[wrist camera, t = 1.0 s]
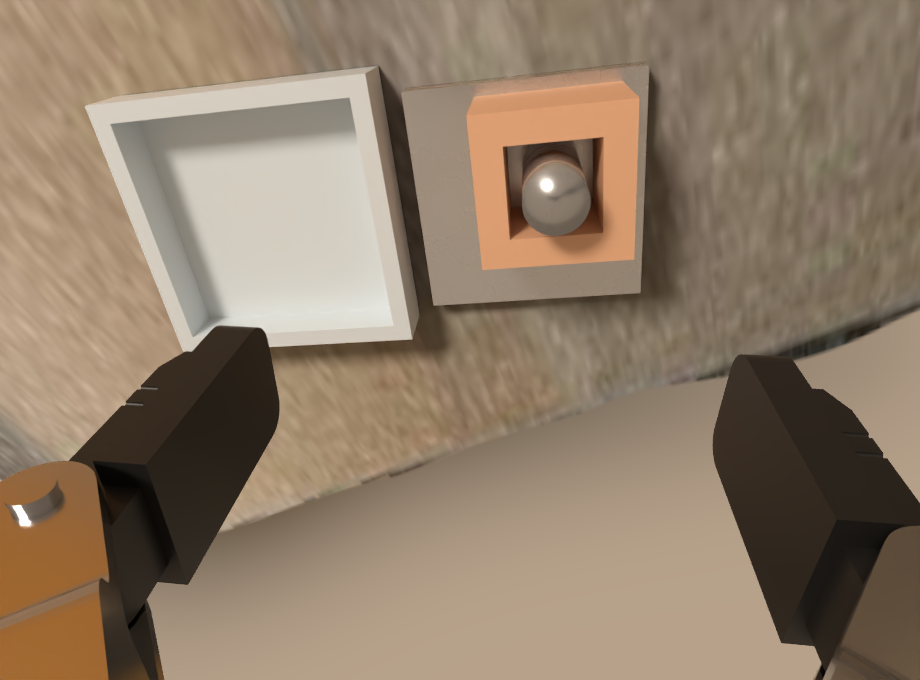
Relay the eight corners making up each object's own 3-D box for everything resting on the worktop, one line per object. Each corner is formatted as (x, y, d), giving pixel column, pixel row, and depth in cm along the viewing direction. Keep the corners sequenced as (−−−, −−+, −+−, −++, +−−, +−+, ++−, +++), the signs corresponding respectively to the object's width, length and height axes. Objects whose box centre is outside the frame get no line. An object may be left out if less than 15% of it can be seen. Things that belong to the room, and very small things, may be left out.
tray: (378, 65, 26) (364, 73, 24) (419, 315, 32) (412, 339, 30) (119, 95, 27) (84, 105, 25) (205, 327, 33) (183, 351, 31)
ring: (623, 80, 24) (639, 97, 21) (620, 224, 27) (634, 259, 24) (474, 96, 25) (466, 115, 22) (487, 234, 28) (482, 269, 25)
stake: (644, 61, 25) (680, 85, 19) (637, 283, 30) (663, 354, 24) (405, 88, 26) (372, 117, 21) (436, 296, 31) (417, 365, 26)
